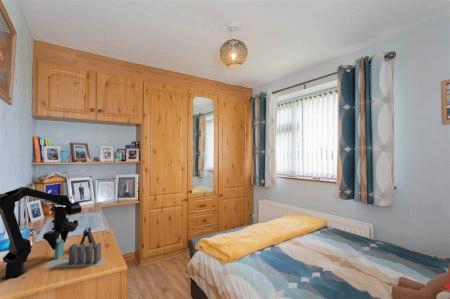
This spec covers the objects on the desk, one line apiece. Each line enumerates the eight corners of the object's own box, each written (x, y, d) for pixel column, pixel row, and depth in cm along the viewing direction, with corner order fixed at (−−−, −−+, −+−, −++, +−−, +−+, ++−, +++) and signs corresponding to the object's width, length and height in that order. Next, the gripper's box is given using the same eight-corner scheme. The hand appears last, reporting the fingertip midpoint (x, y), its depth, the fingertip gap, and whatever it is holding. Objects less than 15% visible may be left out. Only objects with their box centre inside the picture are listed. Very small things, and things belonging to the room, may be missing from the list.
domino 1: (57, 260, 124) (58, 243, 124) (54, 260, 123) (55, 243, 123) (63, 255, 128) (63, 239, 129) (60, 256, 128) (60, 239, 128)
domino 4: (88, 264, 119) (88, 246, 119) (85, 264, 119) (85, 246, 119) (92, 259, 124) (93, 243, 124) (89, 259, 124) (90, 243, 124)
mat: (100, 266, 118) (100, 265, 118) (40, 268, 114) (40, 267, 114) (106, 258, 126) (106, 258, 126) (51, 260, 123) (51, 259, 123)
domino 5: (96, 263, 119) (97, 246, 120) (93, 264, 119) (93, 246, 119) (100, 259, 124) (101, 242, 124) (97, 259, 124) (97, 242, 124)
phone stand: (76, 251, 135) (77, 230, 135) (79, 247, 140) (80, 227, 140) (94, 249, 138) (94, 229, 138) (96, 245, 143) (96, 226, 143)
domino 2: (71, 264, 118) (72, 247, 118) (68, 265, 118) (69, 247, 118) (76, 260, 123) (77, 243, 123) (73, 260, 123) (74, 243, 123)
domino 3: (80, 264, 118) (80, 247, 119) (76, 264, 118) (77, 247, 118) (84, 260, 123) (85, 243, 123) (81, 260, 123) (82, 243, 123)
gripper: (66, 222, 118) (65, 253, 118) (83, 213, 136) (83, 239, 136) (42, 222, 117) (41, 253, 116) (63, 213, 135) (62, 239, 135)
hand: (59, 246), depth 126 cm, fingers open, 9 cm apart
